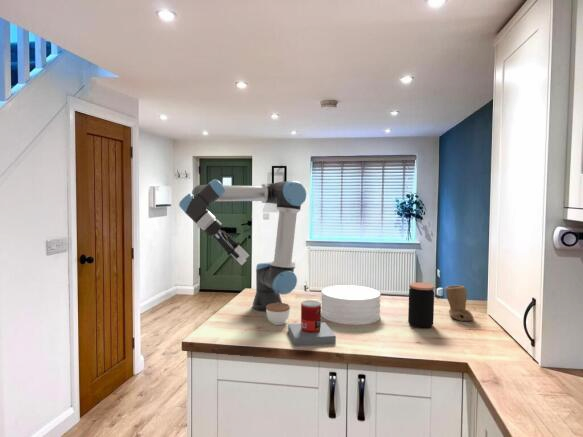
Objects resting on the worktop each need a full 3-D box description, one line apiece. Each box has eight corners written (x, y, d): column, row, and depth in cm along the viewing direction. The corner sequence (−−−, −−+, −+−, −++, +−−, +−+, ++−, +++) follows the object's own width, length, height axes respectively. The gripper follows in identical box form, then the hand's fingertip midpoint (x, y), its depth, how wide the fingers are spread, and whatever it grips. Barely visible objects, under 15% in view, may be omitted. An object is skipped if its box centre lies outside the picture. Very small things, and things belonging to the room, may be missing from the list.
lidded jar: (292, 320, 170) (293, 300, 169) (284, 328, 160) (284, 306, 159) (271, 317, 173) (271, 298, 173) (262, 325, 163) (262, 304, 163)
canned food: (319, 333, 145) (319, 306, 145) (299, 332, 147) (299, 304, 146) (321, 327, 153) (321, 300, 152) (302, 325, 154) (302, 299, 154)
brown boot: (443, 311, 187) (444, 281, 186) (469, 313, 183) (470, 283, 182) (445, 320, 172) (446, 288, 172) (473, 323, 168) (475, 290, 168)
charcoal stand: (288, 331, 156) (288, 324, 156) (324, 329, 159) (325, 322, 159) (295, 345, 141) (295, 338, 140) (335, 343, 143) (335, 335, 143)
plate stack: (361, 304, 197) (361, 283, 196) (391, 321, 170) (392, 297, 170) (312, 309, 188) (312, 287, 187) (336, 327, 161) (336, 302, 161)
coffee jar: (434, 323, 168) (435, 284, 167) (432, 330, 158) (433, 289, 158) (409, 319, 173) (410, 281, 172) (406, 326, 163) (407, 286, 162)
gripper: (209, 228, 168) (242, 261, 170) (197, 233, 144) (236, 272, 145) (221, 217, 168) (254, 249, 170) (211, 220, 143) (249, 258, 145)
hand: (245, 260), depth 157 cm, fingers open, 13 cm apart
